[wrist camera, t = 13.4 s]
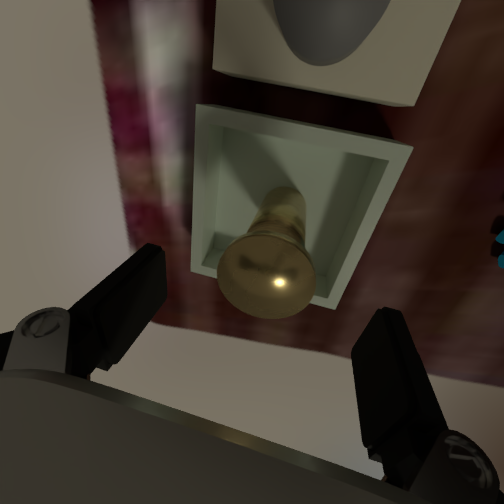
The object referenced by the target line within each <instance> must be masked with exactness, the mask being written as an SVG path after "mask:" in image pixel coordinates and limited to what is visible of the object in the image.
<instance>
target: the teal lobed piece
mask: <svg viewBox="0 0 504 504" xmlns="http://www.w3.org/2000/svg"><path fill="white" fill-rule="evenodd" d="M496 241H498V242H499V243H502V244H504V229H503V230H502V232H501V233H500V234H499V235H498V236H497V237H496ZM498 264H499V267H501V268H504V251H503V252H502V253H501V255H500V256H499V258H498Z"/></svg>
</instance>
